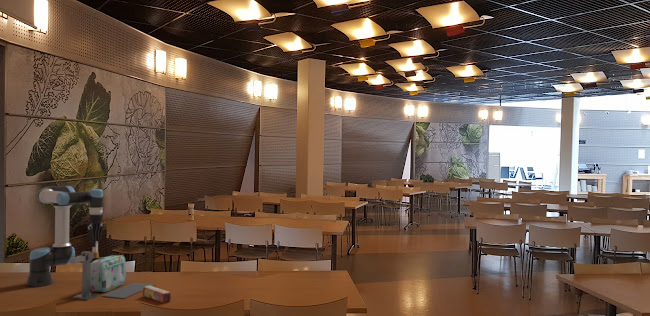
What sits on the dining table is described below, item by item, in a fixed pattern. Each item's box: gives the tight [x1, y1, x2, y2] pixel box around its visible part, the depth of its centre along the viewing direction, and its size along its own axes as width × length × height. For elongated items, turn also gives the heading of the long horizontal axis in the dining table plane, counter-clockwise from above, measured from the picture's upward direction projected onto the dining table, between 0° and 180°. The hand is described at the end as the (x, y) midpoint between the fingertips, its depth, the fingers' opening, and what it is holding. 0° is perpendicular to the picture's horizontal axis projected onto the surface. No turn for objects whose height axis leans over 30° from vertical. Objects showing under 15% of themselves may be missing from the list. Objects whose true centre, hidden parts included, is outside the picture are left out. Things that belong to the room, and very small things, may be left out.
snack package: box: [142, 286, 172, 304], centre depth 289 cm, size 21×7×7 cm, turn 53°
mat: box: [101, 282, 156, 300], centre depth 306 cm, size 16×32×1 cm, turn 166°
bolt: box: [70, 251, 100, 264], centre depth 288 cm, size 6×18×3 cm, turn 166°
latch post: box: [72, 250, 100, 301], centre depth 290 cm, size 10×10×28 cm
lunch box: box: [90, 254, 127, 293], centre depth 310 cm, size 27×10×21 cm, turn 168°
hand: (95, 251), depth 298 cm, fingers closed
